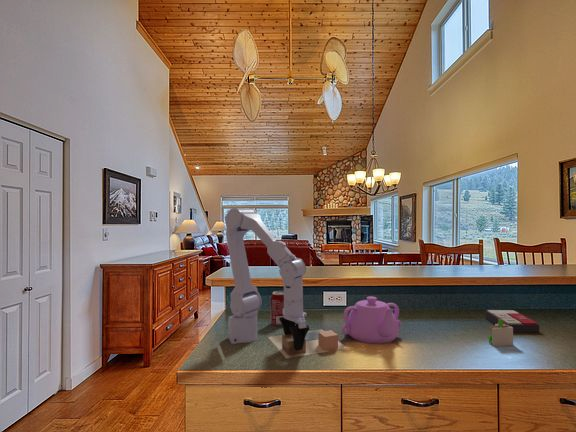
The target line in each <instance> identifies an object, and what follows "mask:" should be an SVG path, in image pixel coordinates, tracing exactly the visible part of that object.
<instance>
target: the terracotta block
mask: <svg viewBox="0 0 576 432" xmlns="http://www.w3.org/2000/svg"><path fill="white" fill-rule="evenodd" d="M338 341H339V334H338V333H336V332H334V331H333V330H331V329H330V330H323V331H322V332H318V345H319V346H320V347H322V348H323V349H324V350H329V349H335V348H338Z"/></svg>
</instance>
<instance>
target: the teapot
mask: <svg viewBox="0 0 576 432" xmlns="http://www.w3.org/2000/svg"><path fill="white" fill-rule="evenodd" d="M390 307H393V308H390ZM348 313H349V314H348ZM399 314H400V308H399V306H398V305H397V304H396V303H394V302H388V303H386V302H384V301H381V300H378V297H376V296H370V295H369V296H366V299H363V300H359V301H357V302H356V303H355V304H354V305H351V306H348V307H346V308H345V309H344V311H343V319H344V323H345V324H344V325H342V327H341V329H340V330H341V333H342V334H344V335H349V336H350V337H351V338H353V339H354V340H356V341H359V342H362V343H367V344H386V343H392V342H393V341H394V340H395V339H396V338H397V337H398V335H399V333H400V330H399V329H400V328H401V327H402V323H401V321H400V320H399V316H400V315H399Z"/></svg>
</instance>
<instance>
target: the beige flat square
mask: <svg viewBox="0 0 576 432" xmlns="http://www.w3.org/2000/svg"><path fill="white" fill-rule="evenodd" d="M322 331H324V330H323V329H315V330H308V332H307V334H306V337H305V339H306V353H300V354H294V355H288V354H287V353H286V352H285V351H284V350H283V349H282V335H283V334H282V335H274V336H268V337H267V338H268V339H269V340H270V341H271V342H272V344H273V345H274V346H275V347H276V349H277V350H278V351H279V352H280V354H282V356H283V357H284V358H285V359H286V360H287V359H292V358H298V357H304V356H309V355H310V356H312V355H317V354H322V353H328V352H329V353H330V352H333V351H340V350H346V349H348V347H347V346H345V344H343V343H341V342H340V341H339V340H338V348H335V349H329V350H324V349H323V348H322V347H320V346H319V345H318V332H322Z"/></svg>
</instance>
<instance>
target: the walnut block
mask: <svg viewBox="0 0 576 432" xmlns="http://www.w3.org/2000/svg"><path fill="white" fill-rule="evenodd" d="M282 349H283V350H284V351H285V352H286V353H287V354H288V355H294V354H300V353H306V339H305V340H304V345H303V349H302V350H297V351H296V350H295V348H294V341H293V336H292V334H288V335H285V334H282Z"/></svg>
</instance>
